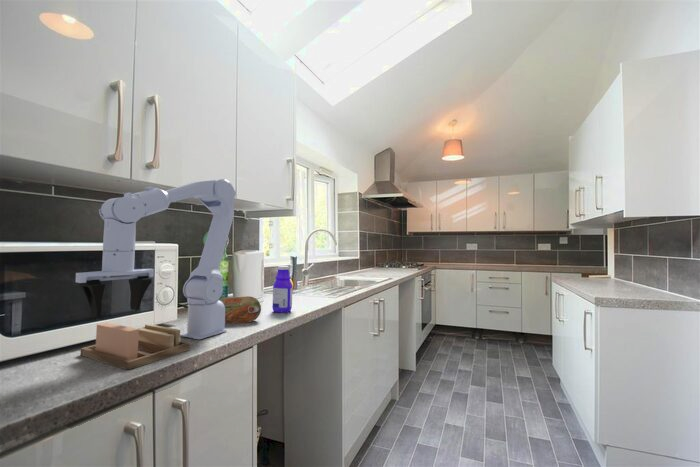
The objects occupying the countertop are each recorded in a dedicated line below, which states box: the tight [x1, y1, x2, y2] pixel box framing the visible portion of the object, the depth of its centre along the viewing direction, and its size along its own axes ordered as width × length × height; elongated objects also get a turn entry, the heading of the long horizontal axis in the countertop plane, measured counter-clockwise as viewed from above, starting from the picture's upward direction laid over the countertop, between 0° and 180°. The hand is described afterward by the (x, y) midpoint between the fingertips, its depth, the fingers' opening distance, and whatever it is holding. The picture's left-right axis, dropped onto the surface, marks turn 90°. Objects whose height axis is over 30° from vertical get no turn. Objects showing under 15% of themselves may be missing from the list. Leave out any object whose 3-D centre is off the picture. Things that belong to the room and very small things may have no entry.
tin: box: [218, 295, 262, 325], centre depth 100 cm, size 15×3×8 cm, turn 106°
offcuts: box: [137, 323, 181, 348], centre depth 75 cm, size 3×14×4 cm, turn 65°
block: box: [95, 322, 139, 360], centre depth 67 cm, size 2×12×7 cm, turn 65°
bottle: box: [272, 265, 293, 314], centre depth 117 cm, size 7×6×17 cm
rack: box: [79, 340, 191, 371], centre depth 71 cm, size 14×18×2 cm
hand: (116, 312), depth 68 cm, fingers open, 7 cm apart
